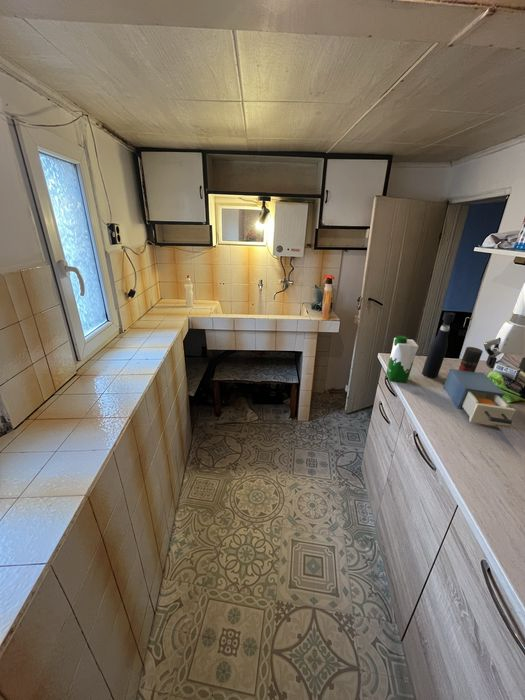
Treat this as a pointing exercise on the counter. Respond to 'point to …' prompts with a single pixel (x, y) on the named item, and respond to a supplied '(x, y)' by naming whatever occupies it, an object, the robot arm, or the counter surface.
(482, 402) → the small orange cuboid
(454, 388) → the blue drawer cabinet
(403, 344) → the milk carton
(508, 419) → the white drawer
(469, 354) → the deodorant
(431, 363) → the black water bottle
